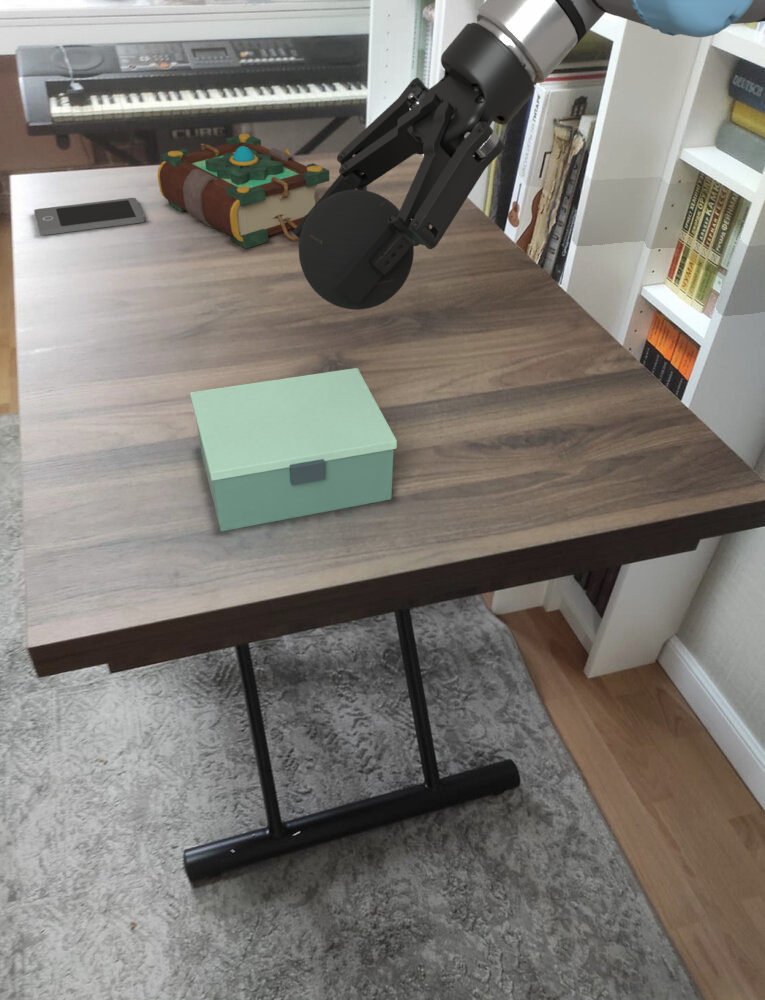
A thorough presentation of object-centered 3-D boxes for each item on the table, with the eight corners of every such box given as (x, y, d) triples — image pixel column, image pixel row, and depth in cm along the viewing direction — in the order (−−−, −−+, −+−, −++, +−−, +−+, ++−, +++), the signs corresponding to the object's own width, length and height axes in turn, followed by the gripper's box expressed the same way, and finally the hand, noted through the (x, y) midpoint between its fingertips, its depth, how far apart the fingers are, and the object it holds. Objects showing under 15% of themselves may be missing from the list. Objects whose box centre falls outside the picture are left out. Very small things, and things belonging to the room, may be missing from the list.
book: (375, 228, 124) (377, 160, 118) (260, 268, 113) (255, 195, 107) (269, 176, 139) (265, 113, 132) (157, 207, 128) (147, 140, 121)
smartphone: (136, 201, 129) (135, 196, 129) (146, 221, 123) (145, 217, 123) (34, 213, 125) (33, 208, 124) (40, 235, 119) (39, 230, 118)
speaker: (287, 322, 73) (281, 210, 66) (316, 272, 80) (313, 167, 74) (400, 336, 72) (405, 223, 65) (419, 284, 79) (425, 178, 72)
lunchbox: (355, 422, 87) (356, 365, 83) (395, 503, 78) (398, 443, 73) (197, 448, 83) (189, 389, 79) (219, 537, 74) (211, 476, 69)
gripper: (606, 128, 62) (401, 352, 67) (468, 53, 77) (312, 240, 83) (555, 54, 56) (339, 302, 62) (419, -10, 72) (256, 193, 78)
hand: (323, 267), depth 72 cm, fingers closed on speaker, 10 cm apart
